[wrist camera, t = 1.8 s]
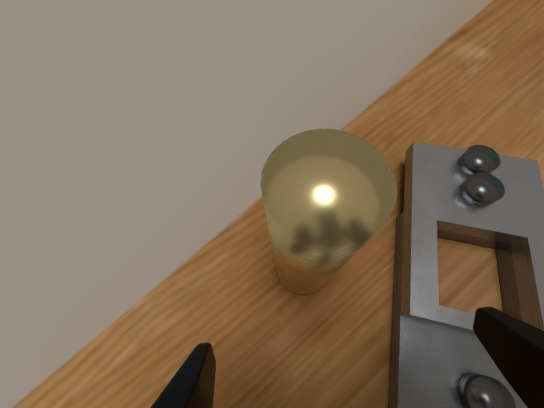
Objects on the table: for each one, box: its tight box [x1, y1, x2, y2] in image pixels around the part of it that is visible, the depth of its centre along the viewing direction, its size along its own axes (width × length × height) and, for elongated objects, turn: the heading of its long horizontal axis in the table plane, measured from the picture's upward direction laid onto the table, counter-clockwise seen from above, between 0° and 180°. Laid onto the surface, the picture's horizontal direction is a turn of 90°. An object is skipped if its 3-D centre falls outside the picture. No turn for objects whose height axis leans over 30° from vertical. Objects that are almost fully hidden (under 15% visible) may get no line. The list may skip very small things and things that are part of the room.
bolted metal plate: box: [388, 142, 544, 408], centre depth 17 cm, size 24×10×4 cm, turn 166°
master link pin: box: [261, 129, 397, 295], centre depth 14 cm, size 4×4×14 cm
